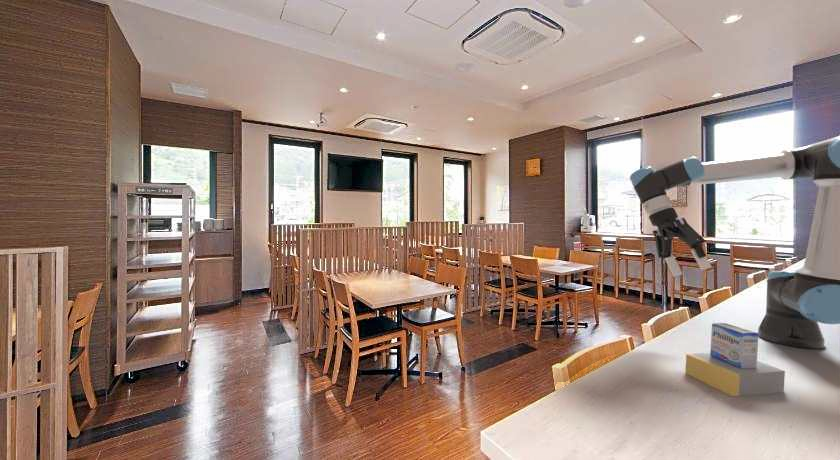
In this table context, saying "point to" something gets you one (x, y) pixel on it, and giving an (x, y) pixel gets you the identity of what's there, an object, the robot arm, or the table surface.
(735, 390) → the block
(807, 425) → the table surface
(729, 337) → the medicine box
